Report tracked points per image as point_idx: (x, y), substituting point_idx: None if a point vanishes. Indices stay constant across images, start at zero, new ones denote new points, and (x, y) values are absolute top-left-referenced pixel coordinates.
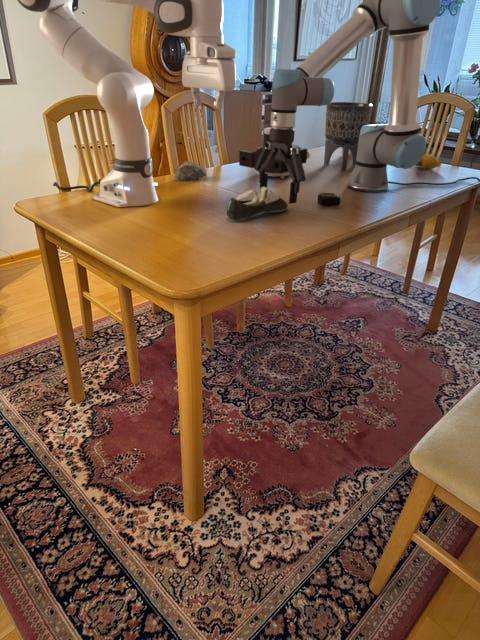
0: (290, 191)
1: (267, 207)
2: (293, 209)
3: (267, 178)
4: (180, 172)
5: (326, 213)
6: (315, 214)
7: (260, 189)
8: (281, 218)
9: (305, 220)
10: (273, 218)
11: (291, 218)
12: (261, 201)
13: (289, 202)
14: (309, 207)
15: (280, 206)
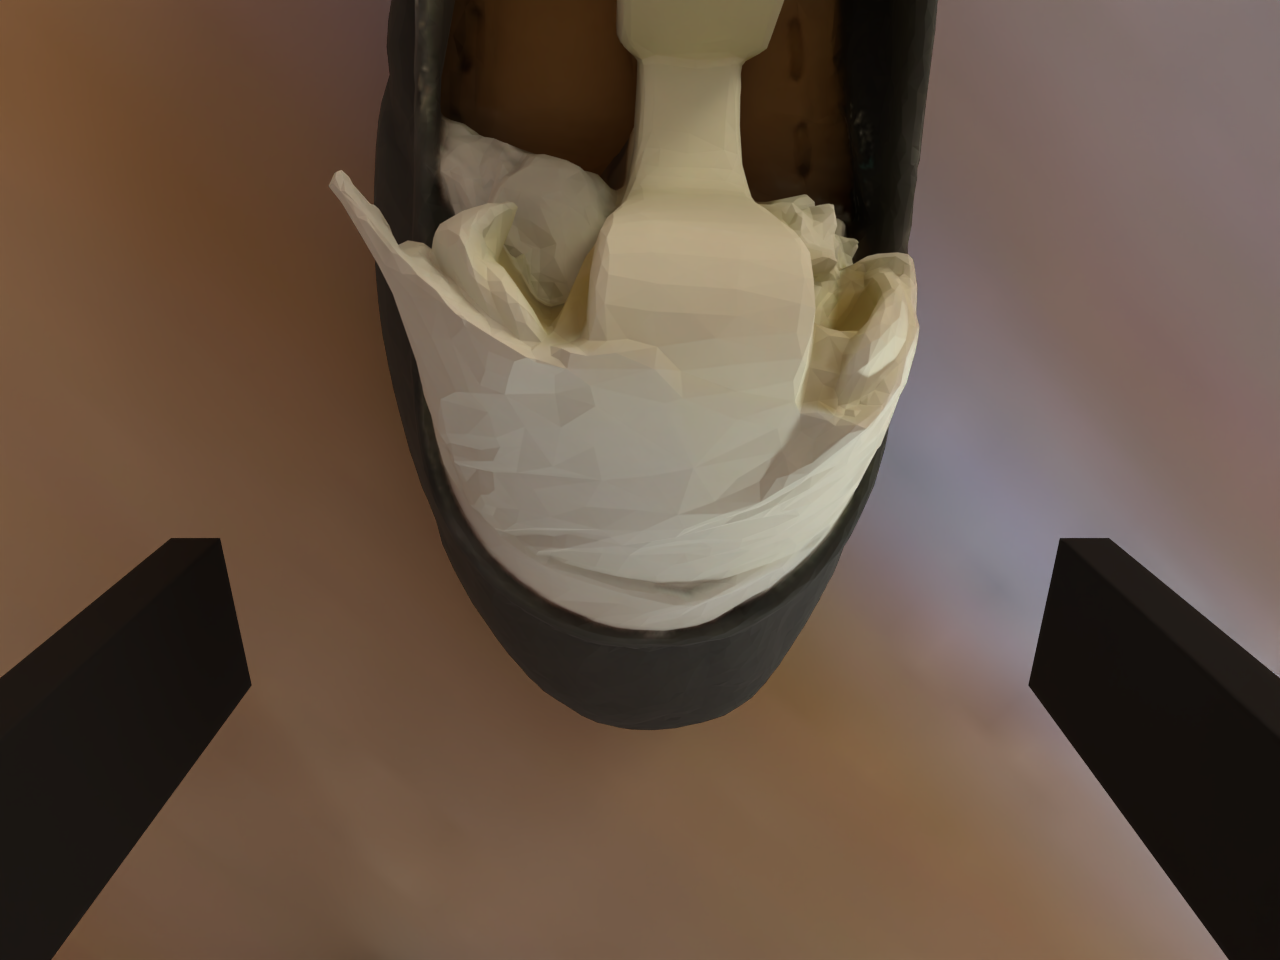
0: (37, 690)
1: (396, 93)
2: (543, 735)
3: (1230, 954)
4: None
5: (175, 908)
6: (205, 792)
7: (880, 292)
8: (284, 291)
9: (29, 514)
10: (352, 176)
11: (207, 420)
12: (640, 129)
13: (195, 549)
14: (488, 926)
15: (411, 450)
